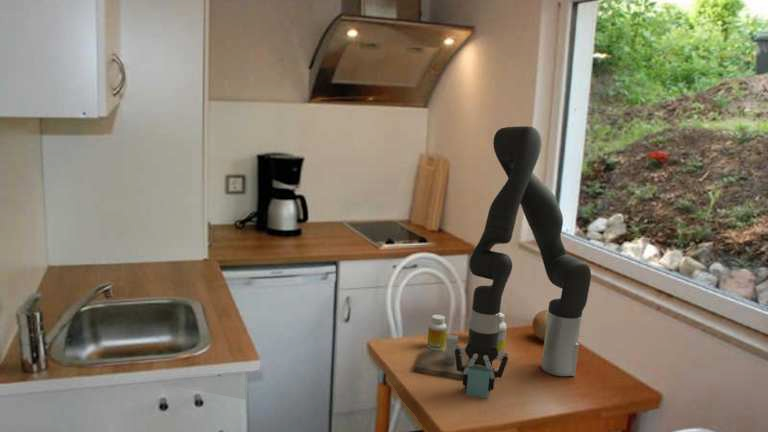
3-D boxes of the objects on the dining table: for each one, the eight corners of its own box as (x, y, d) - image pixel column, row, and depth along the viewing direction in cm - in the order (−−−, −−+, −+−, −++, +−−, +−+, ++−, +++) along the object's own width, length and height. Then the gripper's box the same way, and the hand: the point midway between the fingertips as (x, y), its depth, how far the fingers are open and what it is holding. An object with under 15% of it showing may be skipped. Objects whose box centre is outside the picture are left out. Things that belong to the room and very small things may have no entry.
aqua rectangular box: (488, 389, 171) (491, 364, 169) (487, 398, 165) (489, 372, 164) (468, 386, 172) (470, 361, 170) (466, 394, 166) (468, 369, 165)
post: (455, 360, 184) (458, 336, 182) (454, 364, 181) (456, 339, 180) (445, 359, 184) (448, 334, 183) (444, 363, 182) (446, 338, 180)
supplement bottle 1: (443, 351, 194) (446, 320, 192) (425, 349, 194) (428, 318, 193) (445, 345, 199) (448, 315, 197) (428, 342, 200) (430, 312, 198)
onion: (545, 347, 202) (549, 317, 200) (524, 336, 211) (527, 307, 209) (568, 343, 207) (571, 314, 205) (546, 332, 215) (550, 304, 213)
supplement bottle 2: (477, 350, 196) (481, 310, 194) (497, 349, 198) (501, 309, 196) (486, 359, 190) (491, 318, 187) (507, 358, 192) (511, 317, 189)
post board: (483, 362, 188) (484, 357, 187) (479, 382, 174) (479, 377, 174) (422, 352, 191) (423, 348, 191) (414, 371, 178) (414, 366, 178)
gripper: (513, 326, 167) (506, 387, 170) (457, 318, 170) (452, 378, 173) (512, 336, 160) (504, 399, 163) (454, 327, 163) (448, 390, 166)
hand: (477, 388), depth 168 cm, fingers closed on aqua rectangular box, 5 cm apart
